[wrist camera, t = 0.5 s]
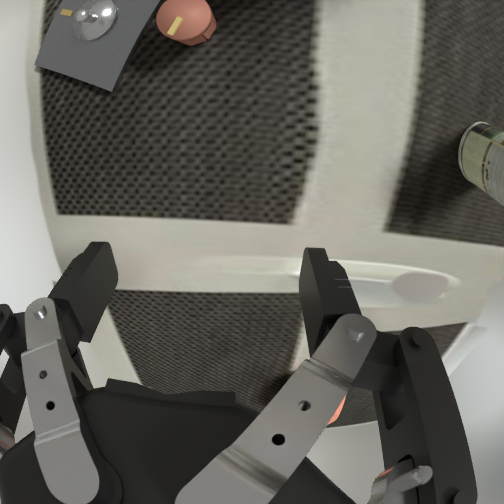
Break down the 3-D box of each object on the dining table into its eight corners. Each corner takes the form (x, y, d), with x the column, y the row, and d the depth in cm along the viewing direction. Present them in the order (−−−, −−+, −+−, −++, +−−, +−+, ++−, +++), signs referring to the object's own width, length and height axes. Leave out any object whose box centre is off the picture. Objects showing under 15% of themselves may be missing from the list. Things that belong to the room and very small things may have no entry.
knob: (185, 0, 22) (172, -14, 17) (225, 15, 24) (220, 2, 19) (162, 36, 25) (145, 28, 20) (201, 51, 26) (191, 46, 21)
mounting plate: (90, -38, 16) (72, -47, 12) (178, -21, 21) (168, -34, 16) (39, 64, 24) (16, 67, 20) (115, 91, 28) (97, 94, 24)
